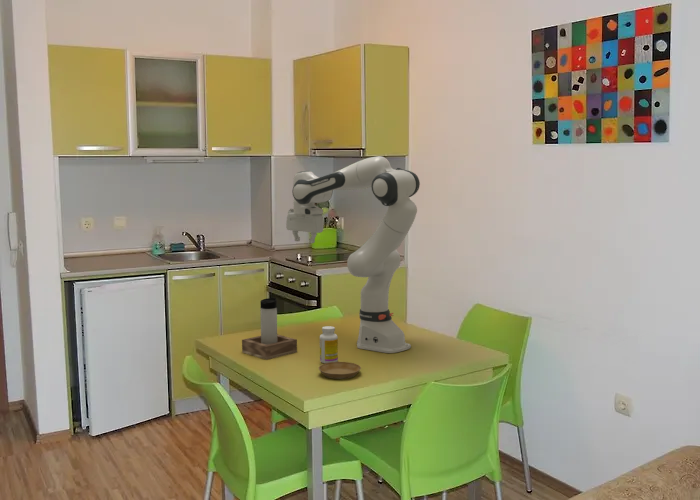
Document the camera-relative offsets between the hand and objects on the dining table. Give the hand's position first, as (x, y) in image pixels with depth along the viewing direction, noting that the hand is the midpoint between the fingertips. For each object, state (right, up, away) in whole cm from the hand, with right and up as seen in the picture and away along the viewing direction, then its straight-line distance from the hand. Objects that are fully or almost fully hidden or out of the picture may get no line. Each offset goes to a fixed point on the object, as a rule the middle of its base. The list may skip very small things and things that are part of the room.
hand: (304, 242), depth 306 cm
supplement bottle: (+12, -45, -41) cm, 62 cm away
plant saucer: (+16, -47, -57) cm, 75 cm away
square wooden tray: (-12, -43, -28) cm, 53 cm away
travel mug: (-12, -42, -28) cm, 52 cm away
